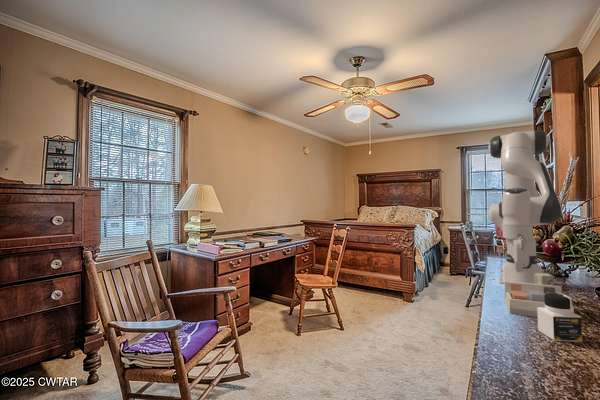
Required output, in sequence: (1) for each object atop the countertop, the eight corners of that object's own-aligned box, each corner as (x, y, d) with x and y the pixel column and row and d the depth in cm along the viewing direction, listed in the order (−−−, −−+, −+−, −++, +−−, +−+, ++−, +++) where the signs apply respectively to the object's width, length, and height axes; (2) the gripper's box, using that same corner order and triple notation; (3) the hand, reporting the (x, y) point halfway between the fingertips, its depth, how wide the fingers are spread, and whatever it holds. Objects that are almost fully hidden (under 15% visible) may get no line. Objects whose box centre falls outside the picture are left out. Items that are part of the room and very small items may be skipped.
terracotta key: (512, 298, 109) (512, 291, 109) (525, 299, 108) (524, 292, 108) (514, 302, 105) (514, 295, 105) (527, 303, 103) (527, 296, 103)
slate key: (529, 297, 107) (528, 290, 107) (542, 298, 105) (542, 291, 105) (531, 301, 103) (531, 294, 103) (545, 302, 101) (545, 295, 101)
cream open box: (505, 301, 116) (504, 281, 117) (561, 308, 108) (560, 286, 108) (510, 313, 104) (509, 290, 104) (574, 321, 95) (573, 296, 96)
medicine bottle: (554, 341, 83) (552, 298, 83) (537, 330, 90) (536, 290, 90) (583, 342, 82) (581, 298, 82) (563, 331, 89) (562, 291, 89)
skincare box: (555, 302, 115) (554, 276, 115) (542, 301, 116) (541, 275, 116) (547, 297, 120) (546, 273, 120) (534, 297, 121) (533, 272, 121)
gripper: (534, 237, 96) (535, 279, 96) (523, 230, 114) (524, 266, 114) (510, 236, 99) (512, 277, 99) (503, 230, 117) (504, 264, 117)
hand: (518, 271), depth 107 cm, fingers closed
